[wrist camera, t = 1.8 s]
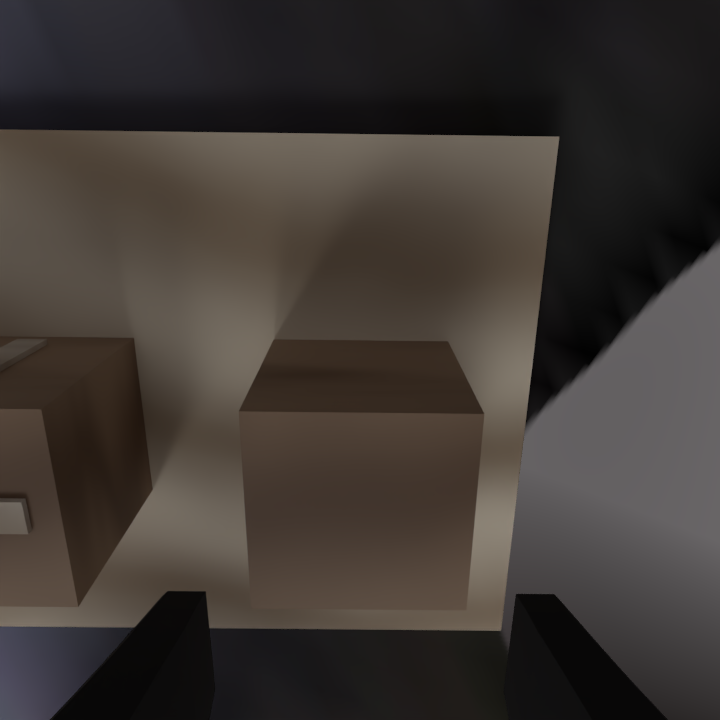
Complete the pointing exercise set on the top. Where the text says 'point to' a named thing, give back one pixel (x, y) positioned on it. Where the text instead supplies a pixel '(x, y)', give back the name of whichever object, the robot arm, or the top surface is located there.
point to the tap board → (273, 317)
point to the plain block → (360, 476)
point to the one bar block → (67, 463)
